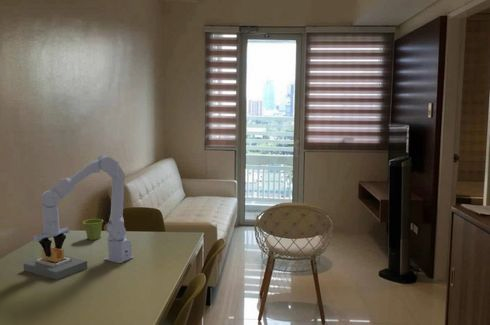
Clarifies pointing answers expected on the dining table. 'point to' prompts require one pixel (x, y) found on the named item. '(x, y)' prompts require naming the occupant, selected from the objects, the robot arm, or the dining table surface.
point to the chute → (54, 255)
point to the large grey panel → (55, 267)
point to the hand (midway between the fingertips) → (53, 254)
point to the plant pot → (93, 228)
